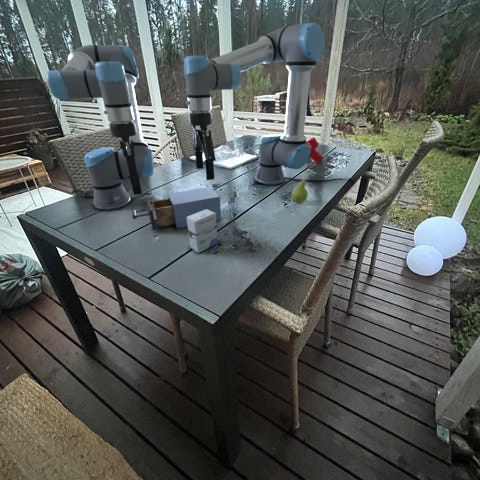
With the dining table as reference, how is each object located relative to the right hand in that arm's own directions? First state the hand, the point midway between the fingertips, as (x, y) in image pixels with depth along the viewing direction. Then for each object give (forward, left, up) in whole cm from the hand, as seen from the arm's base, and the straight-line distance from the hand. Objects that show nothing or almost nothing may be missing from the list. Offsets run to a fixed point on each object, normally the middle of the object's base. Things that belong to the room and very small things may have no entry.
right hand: (205, 173), depth 102 cm
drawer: (+13, +11, -17) cm, 24 cm away
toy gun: (-29, -85, -18) cm, 91 cm away
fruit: (-34, -24, -18) cm, 45 cm away
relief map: (+23, -77, -18) cm, 82 cm away
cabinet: (+4, +3, -18) cm, 18 cm away
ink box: (-8, +21, -18) cm, 29 cm away
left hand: (+19, +16, -4) cm, 25 cm away
